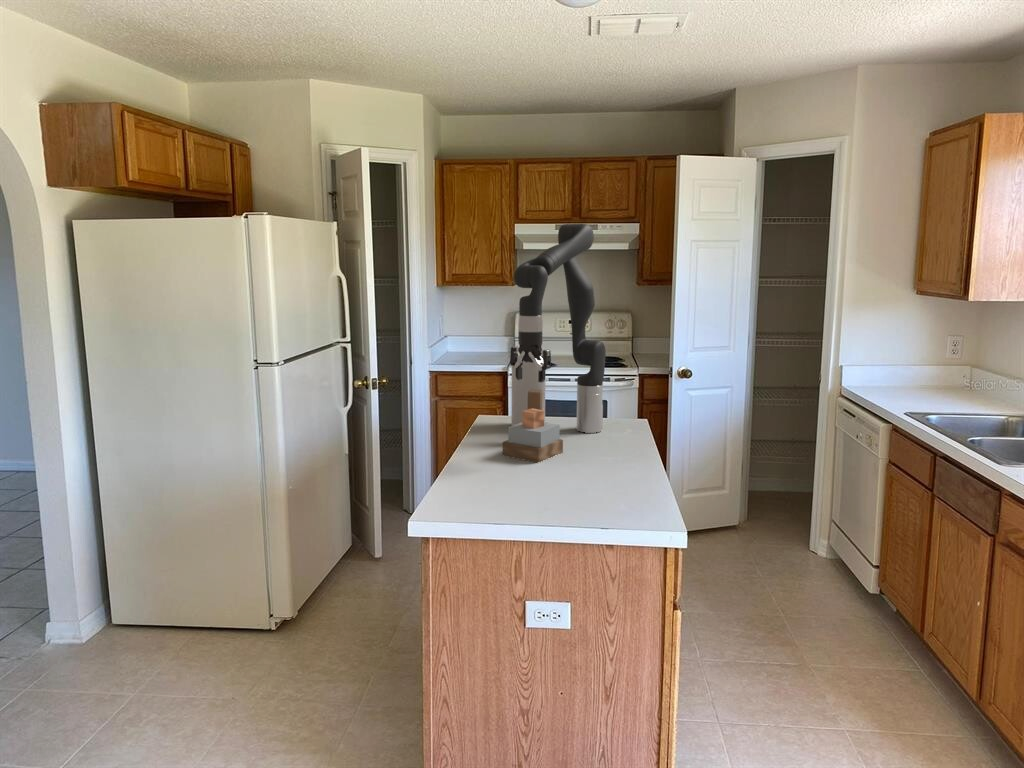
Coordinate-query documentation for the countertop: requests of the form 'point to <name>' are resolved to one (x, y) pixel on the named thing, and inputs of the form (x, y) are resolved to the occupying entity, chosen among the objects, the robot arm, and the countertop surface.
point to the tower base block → (532, 451)
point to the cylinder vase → (525, 390)
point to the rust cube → (533, 418)
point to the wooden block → (535, 399)
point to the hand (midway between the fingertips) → (530, 380)
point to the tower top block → (534, 435)
